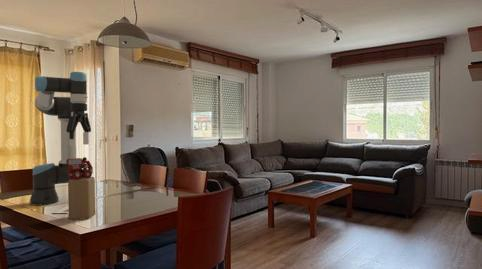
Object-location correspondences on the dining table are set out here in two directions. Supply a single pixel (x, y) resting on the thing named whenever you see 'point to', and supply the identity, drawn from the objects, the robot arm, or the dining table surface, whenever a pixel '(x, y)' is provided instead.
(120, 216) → the dining table surface
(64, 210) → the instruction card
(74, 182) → the wooden block
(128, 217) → the dining table surface
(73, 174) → the red patterned box
